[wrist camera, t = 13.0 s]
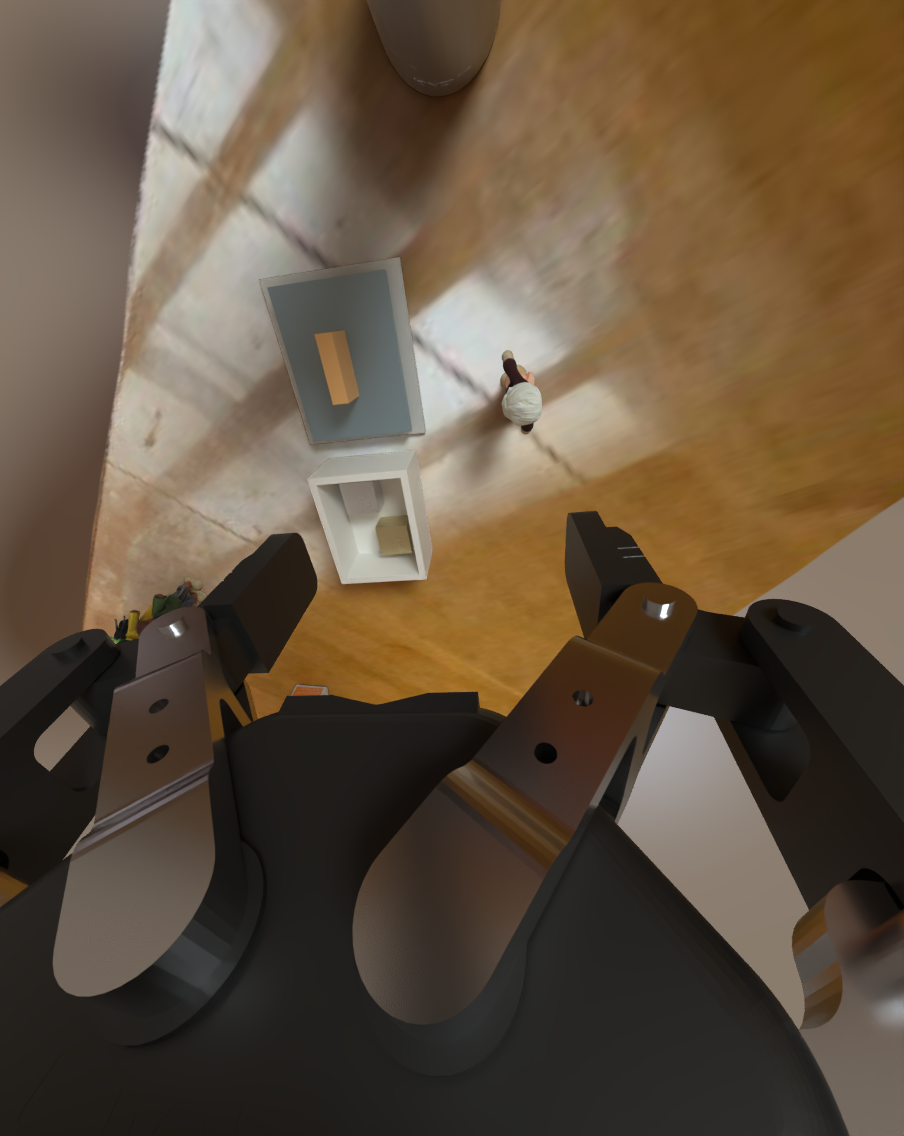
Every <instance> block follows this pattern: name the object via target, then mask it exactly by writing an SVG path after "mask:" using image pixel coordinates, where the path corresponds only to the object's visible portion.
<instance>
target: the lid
mask: <svg viewBox="0 0 904 1136" xmlns="http://www.w3.org/2000/svg"><path fill="white" fill-rule="evenodd" d="M267 289H268V293H269V296H270V299H271V303H272V306H273V309H274V312H275V316H276V319H277V322H278V326H279V329H280V332H281V335H282V339H283V342H284V345H285V349H286V352H287V355H288V358H289V362H290V365H291V368H292V372H293V375H294V378H295V381H296V385H297V388H298V391H299V395H300V398H301V401H302V404H303V408H304V411H305V414H306V418H307V421H308V424H309V427H310V431H311V434H312V437H313V441H314V442H315V441H324V440H334V439H344V438H354V437H363V436H373V435H383V434H392V433H402V432H411V431H412V424H411V418H410V412H409V406H408V400H407V394H406V388H405V382H404V376H403V370H402V364H401V358H400V352H399V346H398V340H397V333H396V327H395V321H394V315H393V309H392V303H391V297H390V291H389V285H388V279H387V273H386V270H385V269H383V270H376V271H370V272H363V273H357V274H350V275H344V276H338V277H331V278H325V279H318V280H312V281H305V282H299V283H293V284H286V285H280V286H273V287H267Z"/></svg>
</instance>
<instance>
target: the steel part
mask: <svg viewBox="0 0 904 1136" xmlns="http://www.w3.org/2000/svg"><path fill="white" fill-rule="evenodd" d="M339 486H340V490H341V493H342V497H343V500H344V504H345V507H346V511H347V514H348V515H354V514H367V513H379V512H380V510H381V508H382V507H383V505H384V503H385V502H384V497H383V493H382V489H381V484H380V480H370V481H359V482H348V483H339Z"/></svg>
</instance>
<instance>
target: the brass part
mask: <svg viewBox="0 0 904 1136" xmlns="http://www.w3.org/2000/svg"><path fill="white" fill-rule="evenodd" d="M375 529H376V533H377V537H378V541H379V545H380V549H381V553H382V555H391V554H407V553H412V552H413V548H414V545H413V540H412V535H411V530H410V524H409V519H408V515H402V516H389V517H380V519H379V521H378V523H377V525H376V527H375Z"/></svg>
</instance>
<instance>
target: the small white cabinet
mask: <svg viewBox="0 0 904 1136" xmlns="http://www.w3.org/2000/svg"><path fill="white" fill-rule="evenodd" d="M370 480H380V484H381V489H382V493H383V497H384V502H385V503H384V505H383V507H382V508H381V510H380V512H379V513H367V514H354V515H348V514H347V511H346V507H345V504H344V500H343V497H342V493H341V490H340V486H339V483H348V482H359V481H370ZM307 481H308V484H309V487H310V490H311V493H312V496H313V499H314V502H315V505H316V508H317V511H318V514H319V517H320V520H321V523H322V526H323V529H324V532H325V535H326V538H327V541H328V544H329V547H330V550H331V553H332V556H333V559H334V562H335V565H336V568H337V571H338V574H339V577H340V580H341V583H342V584H351V583H369V582H387V581H404V580H422V579H427V575H428V570H429V566H430V561H431V556H432V551H433V549H432V543H431V537H430V531H429V525H428V519H427V513H426V507H425V501H424V495H423V489H422V483H421V477H420V471H419V465H418V458H417V452H416V450H411V451H401V452H391V453H380V454H370V455H360V456H350V457H340V458H329V459H328V460H326V461H325V462H324V463H323V464H322V465H321V466H320V467H319V468H318V469H317V470H316V471H315V472H314V473H313V474H312V475H311V476H310V477H308V478H307ZM402 515H408V519H409V524H410V530H411V535H412V540H413V545H414V548H413V552H412V553H407V554H391V555H382V553H381V549H380V545H379V541H378V537H377V533H376V529H375V527H376V525H377V523H378V521H379V519H380V517H389V516H402Z"/></svg>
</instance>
